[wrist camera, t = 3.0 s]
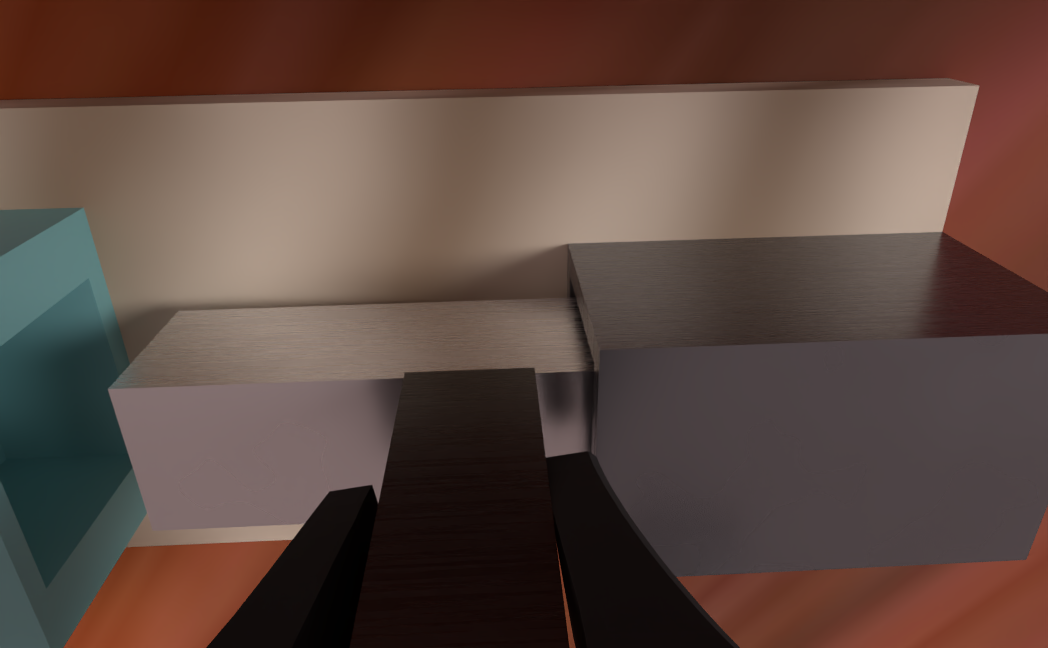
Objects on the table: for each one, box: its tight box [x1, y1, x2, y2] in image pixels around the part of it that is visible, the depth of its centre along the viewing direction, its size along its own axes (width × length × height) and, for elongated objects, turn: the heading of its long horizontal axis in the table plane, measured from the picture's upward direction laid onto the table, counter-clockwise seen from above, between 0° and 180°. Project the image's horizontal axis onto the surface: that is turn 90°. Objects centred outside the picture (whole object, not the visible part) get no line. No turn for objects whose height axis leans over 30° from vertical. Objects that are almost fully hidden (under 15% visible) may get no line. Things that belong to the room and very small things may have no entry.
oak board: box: [0, 78, 979, 547], centre depth 15 cm, size 20×10×1 cm, turn 91°
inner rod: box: [108, 297, 594, 648], centre depth 11 cm, size 14×3×8 cm, turn 91°
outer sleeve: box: [567, 232, 1048, 577], centre depth 13 cm, size 8×4×4 cm, turn 91°
